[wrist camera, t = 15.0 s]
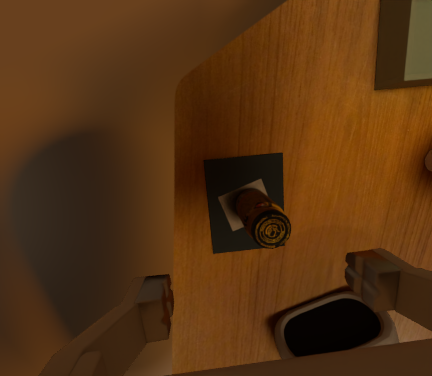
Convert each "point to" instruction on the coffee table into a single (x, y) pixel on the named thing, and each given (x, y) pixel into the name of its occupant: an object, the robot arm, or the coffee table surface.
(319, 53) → the coffee table surface
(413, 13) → the tray
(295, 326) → the alarm clock
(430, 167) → the cup
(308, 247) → the coffee table surface
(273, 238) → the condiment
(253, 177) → the mat
